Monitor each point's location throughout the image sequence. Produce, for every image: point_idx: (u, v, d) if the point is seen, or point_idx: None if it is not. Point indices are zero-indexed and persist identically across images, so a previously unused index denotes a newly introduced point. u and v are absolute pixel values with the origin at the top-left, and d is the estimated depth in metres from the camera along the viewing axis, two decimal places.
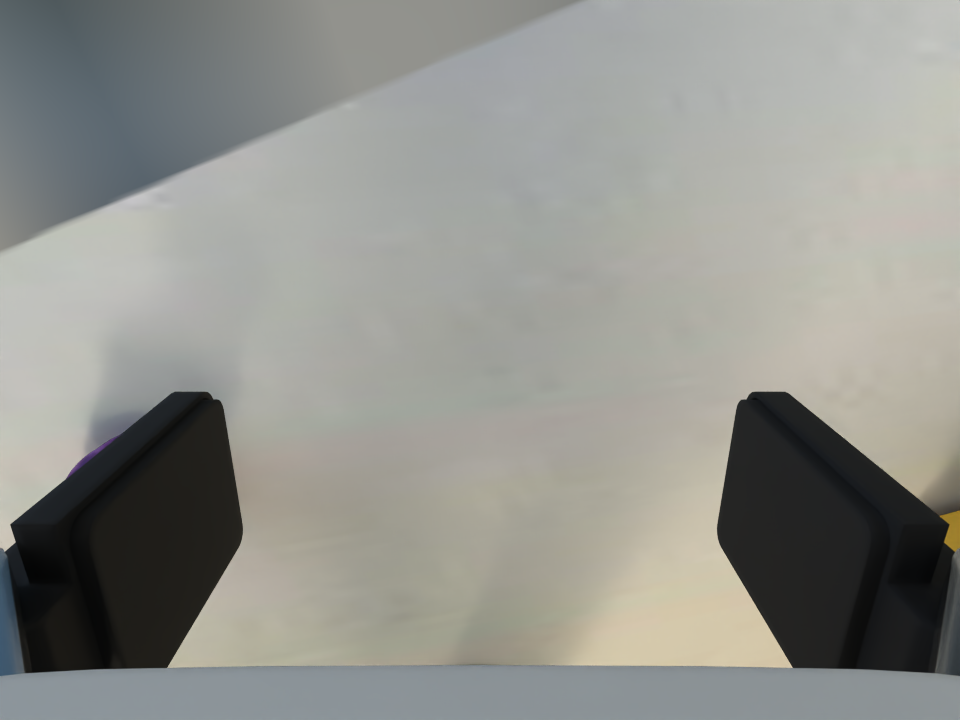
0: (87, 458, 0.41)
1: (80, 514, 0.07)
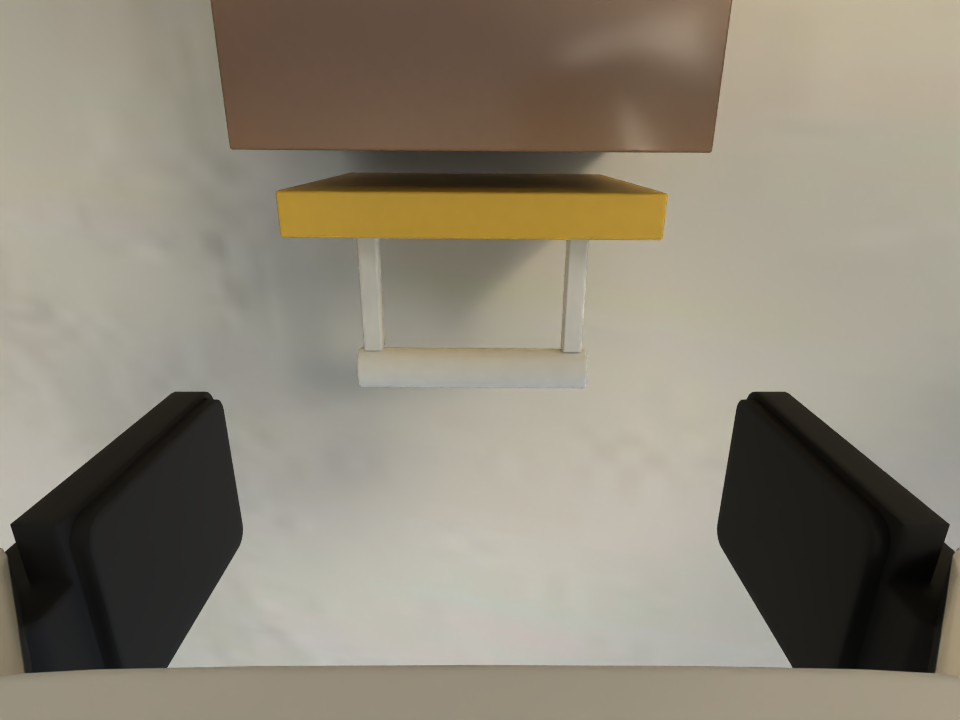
0: None
1: (80, 514, 0.07)
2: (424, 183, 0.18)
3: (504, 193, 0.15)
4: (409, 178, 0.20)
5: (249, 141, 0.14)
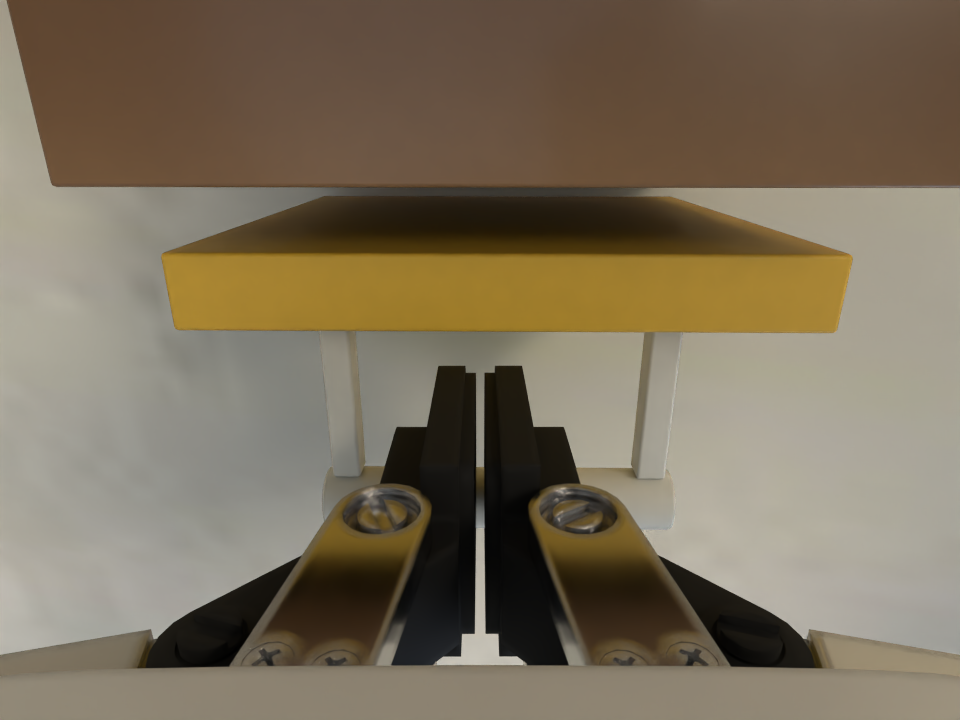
0: None
1: (461, 460, 0.08)
2: (423, 224, 0.11)
3: (562, 256, 0.09)
4: (402, 210, 0.14)
5: (86, 172, 0.07)
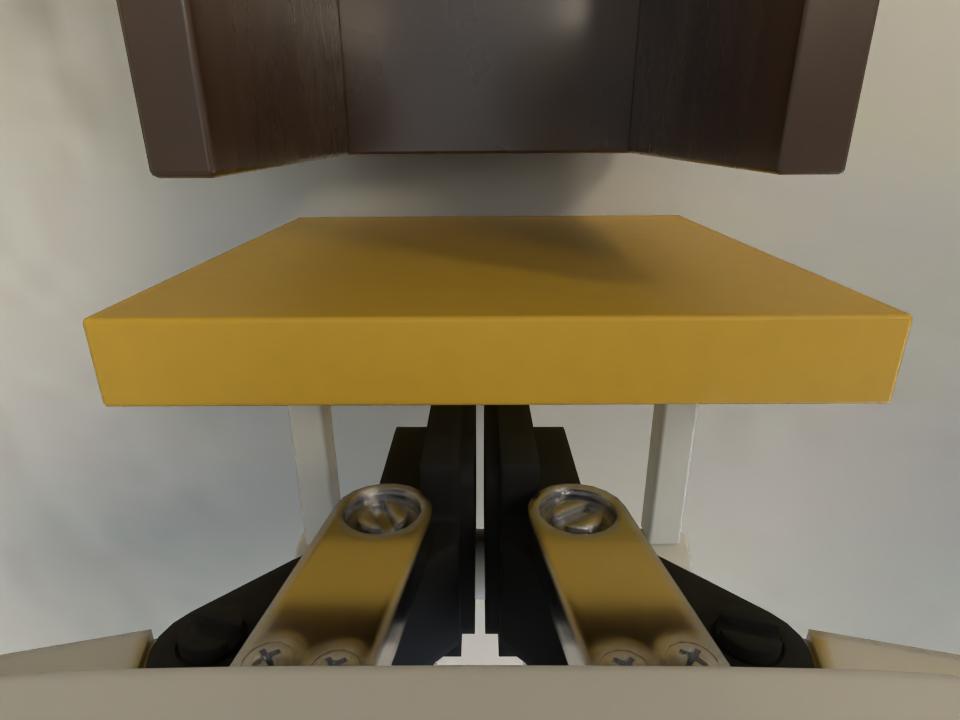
0: None
1: (461, 460, 0.08)
2: (404, 264, 0.10)
3: (566, 318, 0.07)
4: (382, 239, 0.12)
5: None
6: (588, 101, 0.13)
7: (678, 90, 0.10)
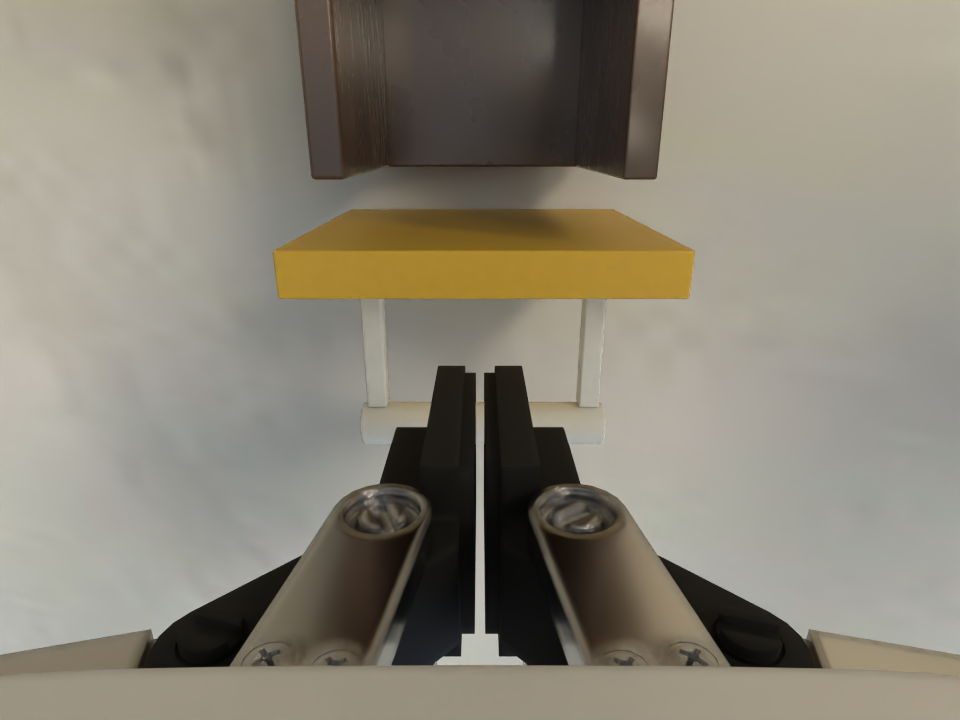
0: None
1: (461, 460, 0.08)
2: (431, 231, 0.17)
3: (519, 251, 0.14)
4: (414, 221, 0.19)
5: None
6: (547, 132, 0.20)
7: (594, 130, 0.17)
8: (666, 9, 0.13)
